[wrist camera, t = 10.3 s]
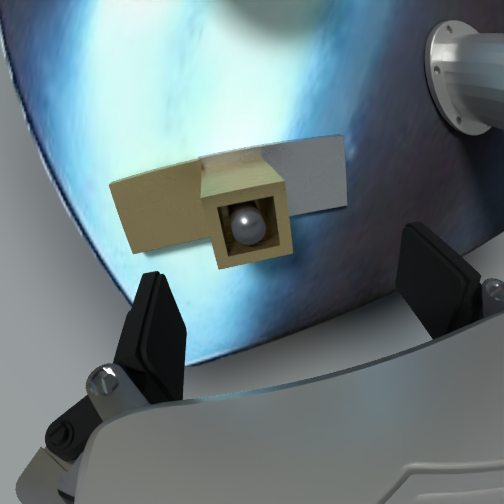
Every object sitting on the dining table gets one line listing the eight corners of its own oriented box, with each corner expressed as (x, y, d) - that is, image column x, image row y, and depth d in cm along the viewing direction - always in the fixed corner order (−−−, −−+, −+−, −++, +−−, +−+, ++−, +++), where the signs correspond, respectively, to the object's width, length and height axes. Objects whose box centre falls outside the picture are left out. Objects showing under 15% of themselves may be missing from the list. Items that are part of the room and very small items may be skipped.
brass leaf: (259, 146, 20) (282, 166, 14) (270, 219, 23) (294, 264, 17) (111, 181, 20) (77, 216, 14) (135, 249, 23) (115, 302, 17)
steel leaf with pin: (339, 134, 22) (395, 153, 15) (343, 202, 24) (391, 244, 18) (198, 156, 21) (193, 185, 14) (214, 227, 24) (218, 283, 17)
